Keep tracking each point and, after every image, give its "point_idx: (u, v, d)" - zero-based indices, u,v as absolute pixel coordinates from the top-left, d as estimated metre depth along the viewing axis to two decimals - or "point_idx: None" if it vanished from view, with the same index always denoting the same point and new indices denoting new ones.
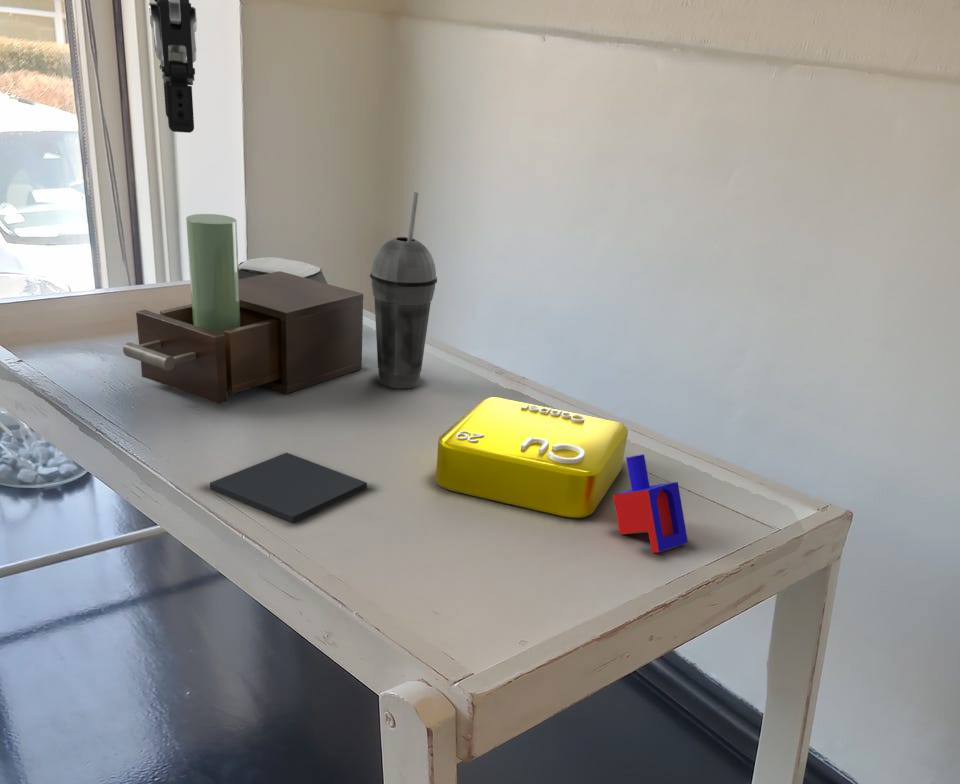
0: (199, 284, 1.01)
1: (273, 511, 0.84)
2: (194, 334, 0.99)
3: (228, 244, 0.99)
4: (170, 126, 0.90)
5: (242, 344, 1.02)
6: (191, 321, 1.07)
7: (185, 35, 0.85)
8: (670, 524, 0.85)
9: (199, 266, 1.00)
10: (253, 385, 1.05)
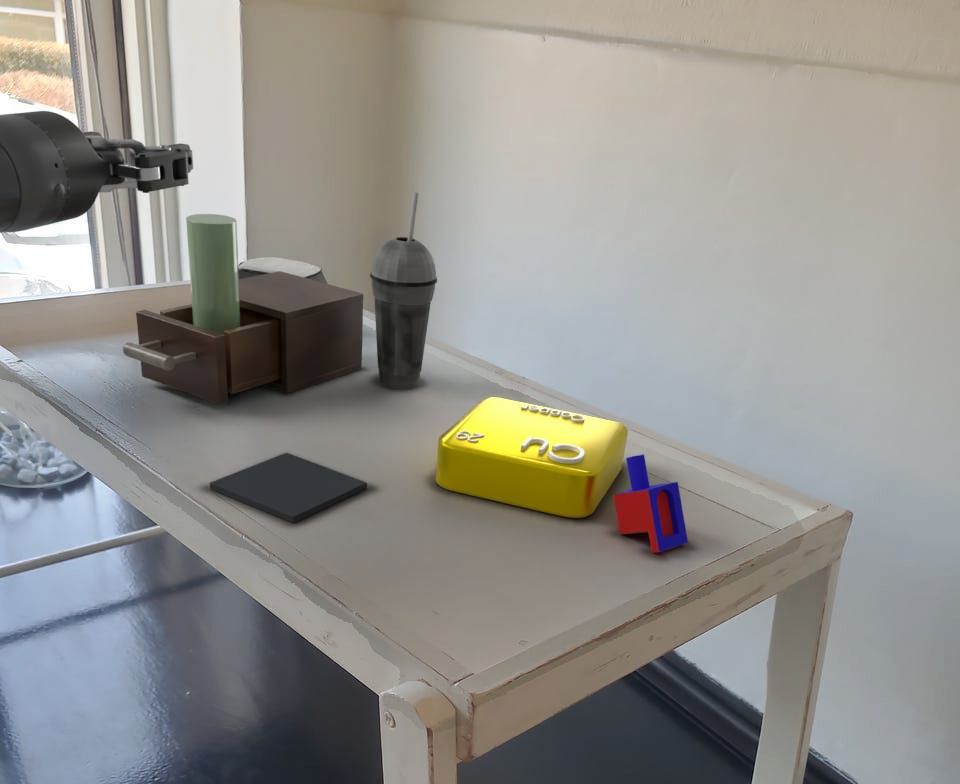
0: (199, 284, 1.01)
1: (273, 511, 0.84)
2: (194, 334, 0.99)
3: (228, 244, 0.99)
4: None
5: (242, 344, 1.02)
6: (191, 321, 1.07)
7: None
8: (670, 524, 0.85)
9: (199, 266, 1.00)
10: (253, 385, 1.05)
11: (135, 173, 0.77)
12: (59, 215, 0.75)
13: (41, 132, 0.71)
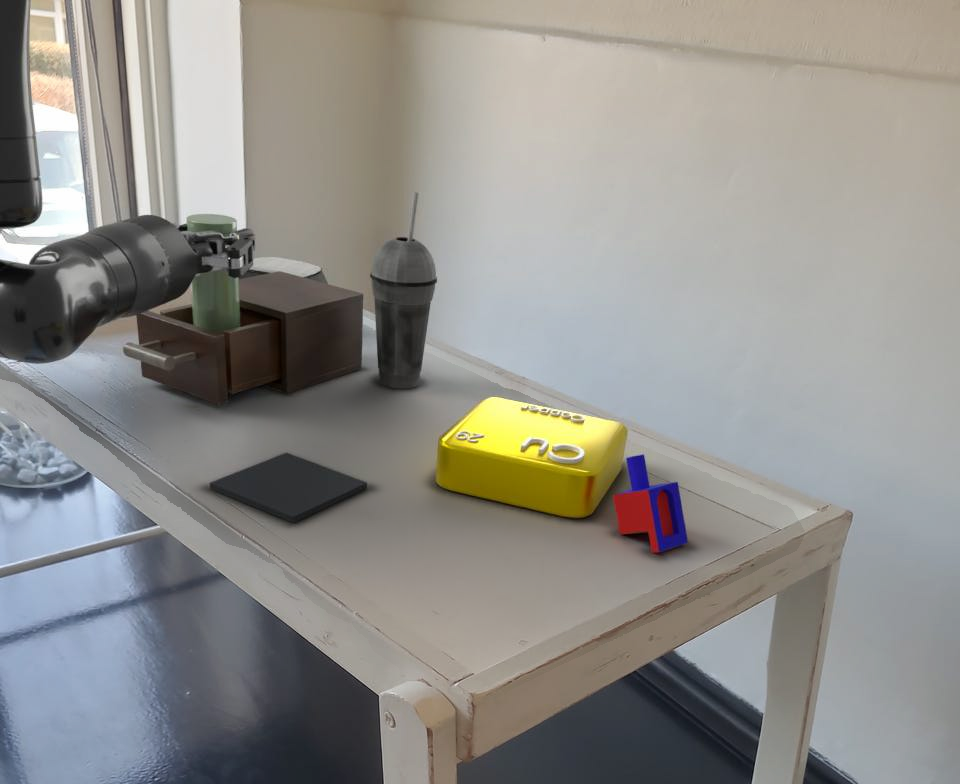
0: (199, 284, 1.01)
1: (273, 511, 0.84)
2: (194, 334, 0.99)
3: None
4: None
5: (242, 344, 1.02)
6: (191, 321, 1.07)
7: None
8: (670, 524, 0.85)
9: None
10: (253, 385, 1.05)
11: (228, 263, 0.93)
12: (161, 302, 0.90)
13: (151, 237, 0.87)
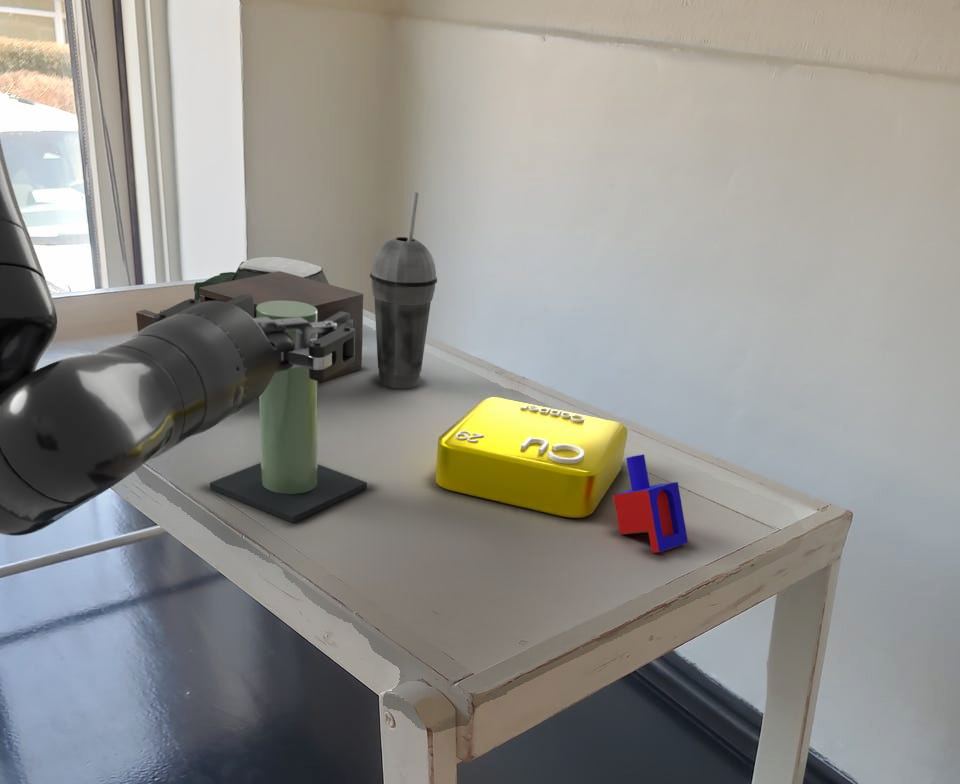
0: (270, 388, 0.81)
1: (273, 511, 0.84)
2: None
3: None
4: None
5: None
6: None
7: None
8: (670, 524, 0.85)
9: None
10: None
11: (308, 362, 0.73)
12: (233, 413, 0.70)
13: (223, 334, 0.67)
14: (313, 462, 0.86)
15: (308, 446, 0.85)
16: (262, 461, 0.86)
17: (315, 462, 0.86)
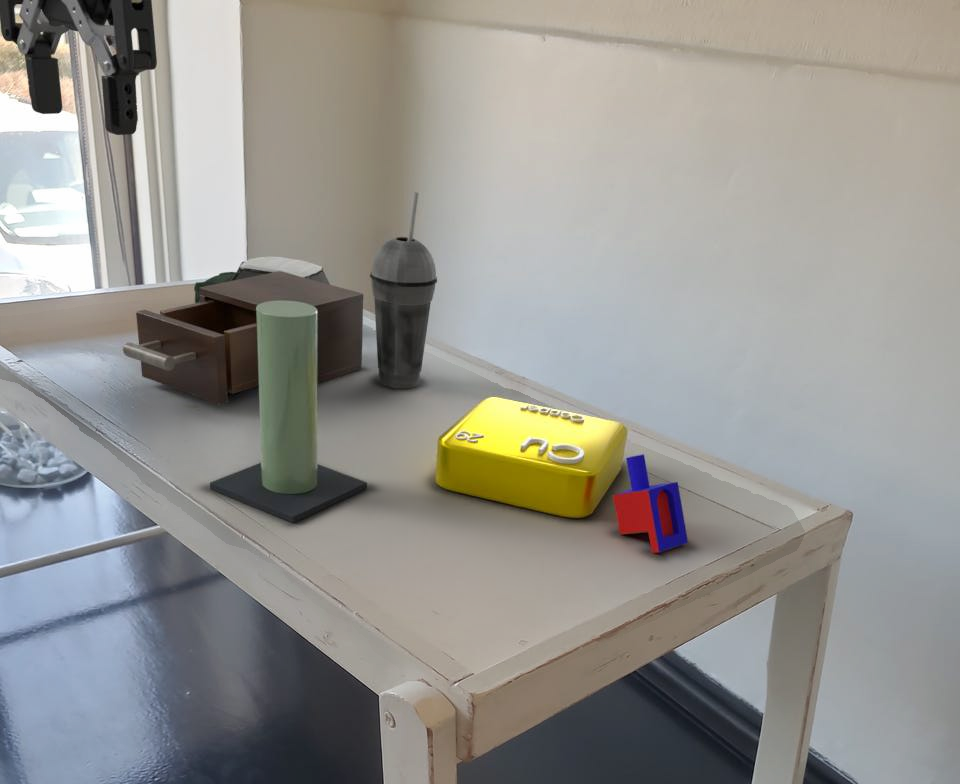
0: (270, 388, 0.81)
1: (273, 511, 0.84)
2: (194, 334, 0.99)
3: (308, 340, 0.80)
4: None
5: (242, 344, 1.02)
6: (191, 321, 1.07)
7: None
8: (670, 524, 0.85)
9: (272, 367, 0.80)
10: (253, 385, 1.05)
11: None
12: None
13: None
14: (313, 462, 0.86)
15: (308, 446, 0.85)
16: (262, 461, 0.86)
17: (315, 462, 0.86)
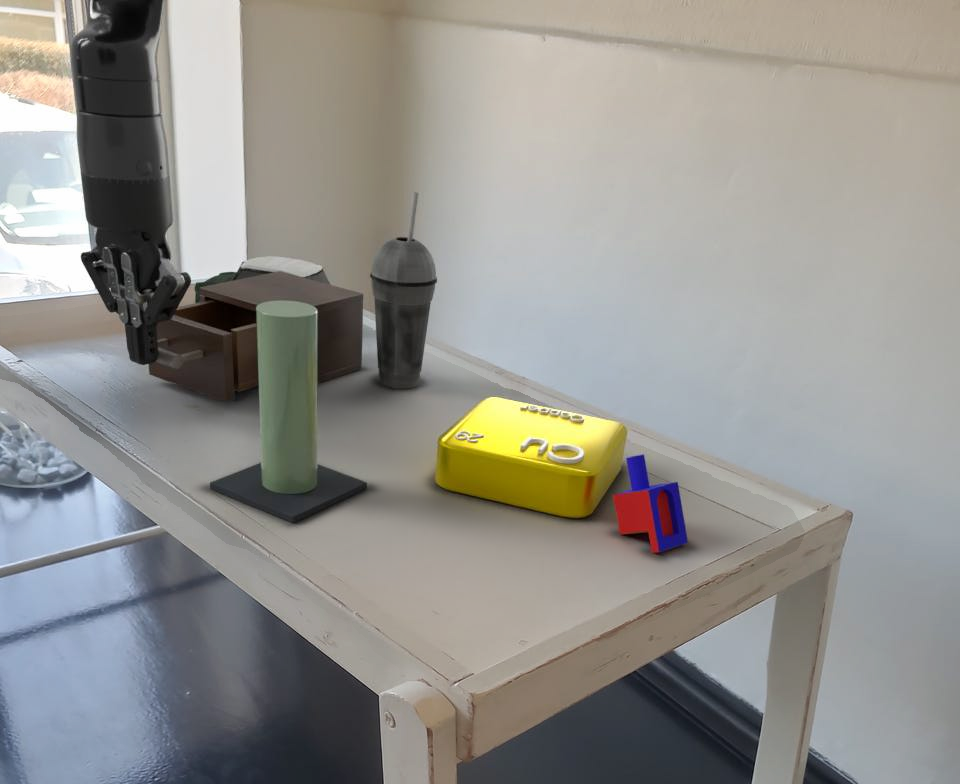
0: (270, 388, 0.81)
1: (273, 511, 0.84)
2: (201, 332, 1.00)
3: (308, 340, 0.80)
4: None
5: (249, 342, 1.03)
6: (198, 319, 1.08)
7: None
8: (670, 524, 0.85)
9: (272, 367, 0.80)
10: None
11: (175, 273, 0.91)
12: (120, 180, 0.86)
13: None
14: (313, 462, 0.86)
15: (308, 446, 0.85)
16: (262, 461, 0.86)
17: (315, 462, 0.86)
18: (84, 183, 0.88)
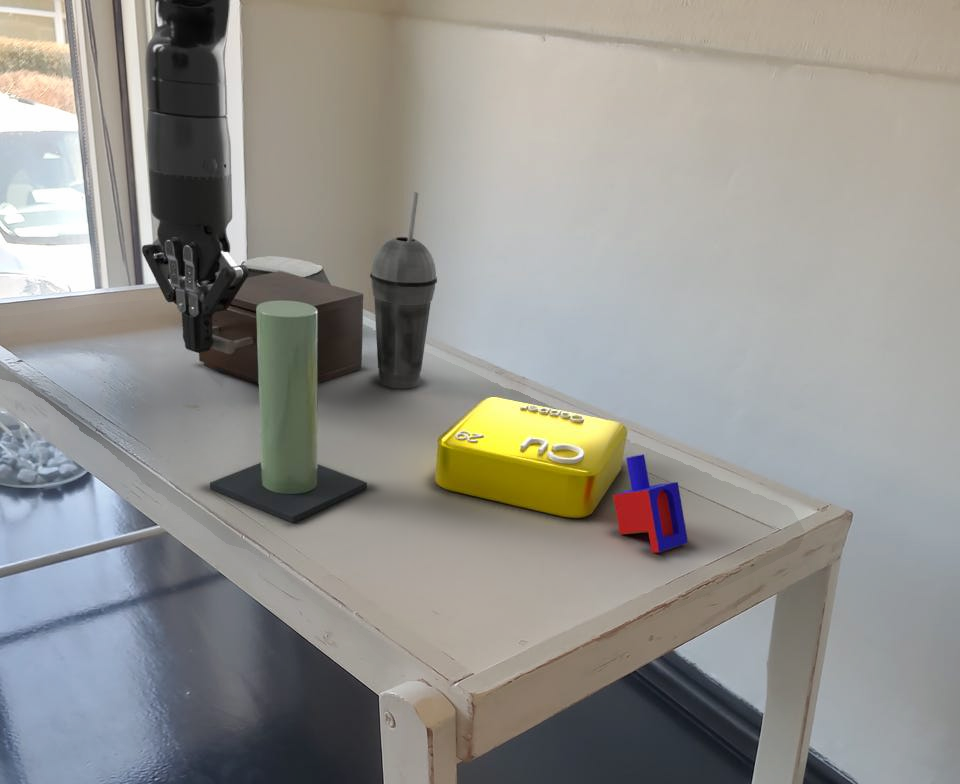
0: (270, 388, 0.81)
1: (273, 511, 0.84)
2: (252, 320, 1.05)
3: (308, 340, 0.80)
4: None
5: None
6: (245, 308, 1.13)
7: None
8: (670, 524, 0.85)
9: (272, 367, 0.80)
10: None
11: (234, 265, 0.96)
12: (188, 176, 0.92)
13: None
14: (313, 462, 0.86)
15: (308, 446, 0.85)
16: (262, 461, 0.86)
17: (315, 462, 0.86)
18: (152, 179, 0.93)
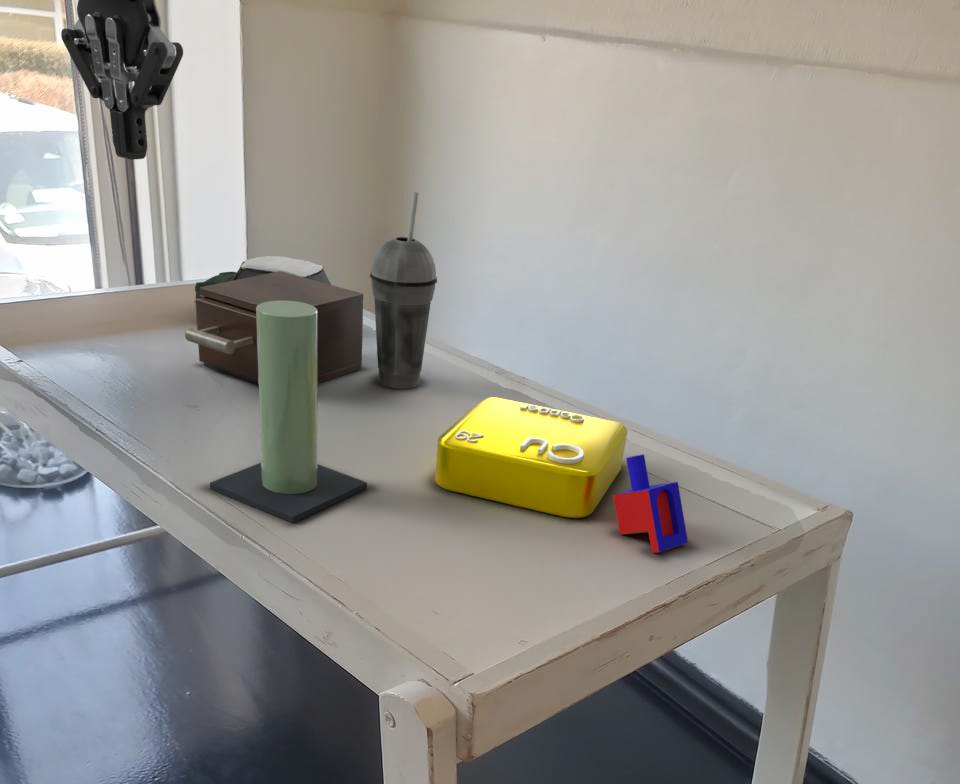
0: (270, 388, 0.81)
1: (273, 511, 0.84)
2: (252, 320, 1.05)
3: (308, 340, 0.80)
4: None
5: None
6: (245, 308, 1.13)
7: None
8: (670, 524, 0.85)
9: (272, 367, 0.80)
10: None
11: (165, 41, 0.82)
12: None
13: None
14: (313, 462, 0.86)
15: (308, 446, 0.85)
16: (262, 461, 0.86)
17: (315, 462, 0.86)
18: None
